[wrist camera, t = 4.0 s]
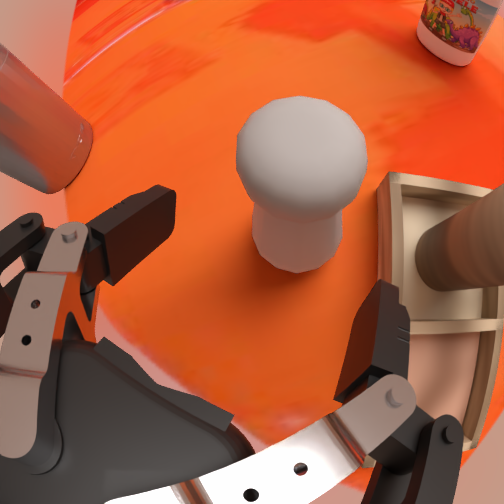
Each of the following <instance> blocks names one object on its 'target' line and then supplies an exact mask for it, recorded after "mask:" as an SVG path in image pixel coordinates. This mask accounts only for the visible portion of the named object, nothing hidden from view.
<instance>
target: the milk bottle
mask: <svg viewBox="0 0 504 504" xmlns="http://www.w3.org/2000/svg"><path fill="white" fill-rule="evenodd" d="M501 4H502V0H426V2H425V5H424V8H423V11H422V14H421V17H420V20H419V23H418V27H417V36H418V38H419V40H420V41H421V43H422V44H423V45H424V46H425V47H426V48H427V49H428V50H429V51H430V52H432V53H433V54H434V55H436V56H437V57H439V58H440V59H442V60H444V61H446V62H448V63H450V64H453V65H457V66H465V65H468V64H469V63H470V62H471V61H472V59H473V58H474V56H475V54H476V53H477V51H478V49H479V48H480V46H481V44H482V42H483V40H484V39H485V37H486V35H487V33H488V31H489V29H490V27H491V25H492V24H493V22H494V20H495V18H496V16H497V13H498V11H499V9H500V6H501Z"/></svg>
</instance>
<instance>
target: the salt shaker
mask: <svg viewBox="0 0 504 504" xmlns="http://www.w3.org/2000/svg"><path fill="white" fill-rule="evenodd" d="M367 162H368V160H367V152H366V144H365V137H364V135H363V133H362V132H361V131H360V129H359V128H358V126H357V125H356V124H355V122H354V121H353V119H352V118H351V117H350V115H349V114H347V113H345V112H344V111H342V110H341V109H339V108H338V107H336V106H334V105H333V104H331V103H329V102H328V101H326V100H321V99H315V98H309V97H303V96H295V97H289V98H283V99H277V100H273V101H271V102H269V103H268V104H266V105H265V106H263V107H261V108H260V109H258V110H257V111H255V112H254V113H252V114H251V115H250V117H249V118H248V120H247V121H246V123H245V124H244V126H243V127H242V129H241V130H240V132H239V133H238V135H237V151H236V170H237V172H238V174H239V176H240V179H241V181H242V183H243V185H244V187H245V189H246V192H247V194H248V195H249V197H250V198H251V200H252V201H253V202H254V209H253V215H252V237H253V239H254V242H255V244H256V247H257V249H258V251H259V254H260V255H261V256H262V257H263V258H265V259H266V260H267V261H268V262H270V263H271V264H272V265H273V266H275V267H276V268H278V269H282V270H286V271H290V272H294V273H301V272H305V271H309V270H314V269H318V268H319V267H320V266H322V265H323V264H324V263H325V262H327V261H328V260H329V259H331V258H332V257H333V256H334V255H335V252H336V250H337V248H338V246H339V244H340V241H341V239H342V209H343V208H344V207H346V206H347V205H348V204H350V203H351V202H352V201H353V200H354V199H355V197H356V196H357V194H358V191H359V189H360V186H361V184H362V181H363V179H364V176H365V173H366V171H367Z"/></svg>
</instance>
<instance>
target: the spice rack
mask: <svg viewBox="0 0 504 504" xmlns="http://www.w3.org/2000/svg"><path fill="white" fill-rule="evenodd" d="M491 191H493V190H492V189H487V188H483V187H478V186H474V185H469V184H464V183H459V182H453V181H448V180H442V179H437V178H431V177H424V176H418V175H411V174H404V173H397V172H388V173H387V175H386V176H385V178H384V179H383V181H382V182H381V183H380V185H379V186H378V188H377V205H378V277H377V281H378V280H379V279H382V280H384V281H386V282H388V283H391V284H393V285H395V286H397V287H399V304H401V305H404V306H406V309H407V312H408V314H409V317H410V342H409V344H410V352H409V368H408V382H409V383H410V384H411V385H412V387H413V389H414V391H415V394H416V405H417V406H418V407H420V408H421V409H422V410H423V411H425V412H426V413H427V414H429V415H430V416H431V417H433V418H434V419H436V418H438V417H440V416H442V415H445V414H449V415H452V416H454V417H455V418H456V419H457V420H458V421H459V422H460V424H461V426H462V429H463V433H464V442H463V450H462V451H466V450H470V449H473V448H476V447H477V444H478V441H479V438H480V435H481V432H482V429H483V426H484V422H485V419H486V416H487V412H488V409H489V405H490V401H491V397H492V393H493V388H494V384H495V379H496V374H497V368H498V363H499V356H500V350H501V342H502V333H503V323H504V286H496V287H487V288H477V289H467V290H456V291H445V292H440V291H435V290H433V289H431V288H430V287H428V286H427V285H426V284H425V283H424V282H423V280H422V279H421V277H420V275H419V273H418V271H417V268H416V263H415V251H416V246H417V243H418V241H419V239H420V237H421V236H422V234H423V233H424V232H425V231H427V230H428V229H430V228H432V227H433V226H435V225H437V224H439V223H440V222H442V221H444V220H445V219H447V218H449V217H451V216H452V215H454V214H456V213H457V212H459V211H461V210H462V209H464V208H466V207H467V206H469V205H470V204H472V203H474V202H475V201H477V200H479V199H480V198H482V197H483V196H485V195H487V194H488V193H490V192H491ZM364 460H365V461H364V463H363V464H362V465H361V467H362V468H369V467H374V466H375V463H376V460H374V459H373V458H371V457H370V456H369V455H367V456H366V457H365V458H364Z"/></svg>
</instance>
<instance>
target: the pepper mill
mask: <svg viewBox="0 0 504 504" xmlns="http://www.w3.org/2000/svg"><path fill="white" fill-rule="evenodd" d="M415 263H416V268H417V271H418V273H419V275H420V277H421V279H422V280H423V282H424V283H425V284H426V285H427V286H428V287H430V288H431V289H433V290H435V291H440V292H445V291H456V290H467V289H477V288H487V287H496V286H504V184H502V185H501V186H499V187H498V188H496V189H494V190H493V191H491V192H490V193H488V194H487V195H485V196H483V197H482V198H480V199H479V200H477V201H475V202H474V203H472V204H470V205H469V206H467V207H466V208H464V209H462V210H461V211H459V212H457V213H456V214H454V215H452V216H451V217H449V218H447V219H445V220H444V221H442V222H440V223H439V224H437V225H435V226H433V227H432V228H430V229H428V230H427V231H425V232H424V233H423V234H422V236H421V237H420V239H419V241H418V243H417V246H416V251H415Z"/></svg>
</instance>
